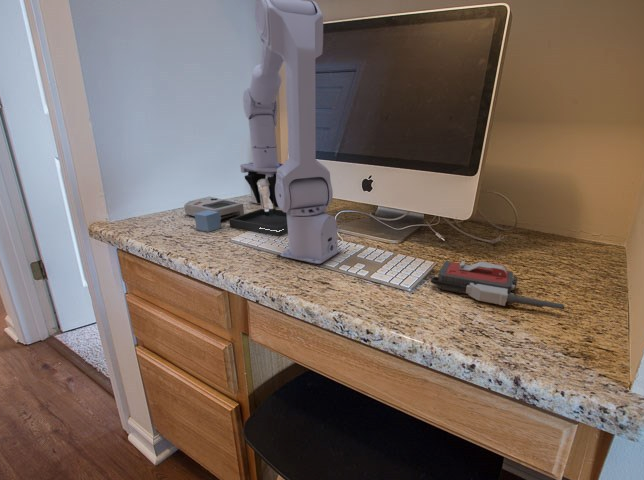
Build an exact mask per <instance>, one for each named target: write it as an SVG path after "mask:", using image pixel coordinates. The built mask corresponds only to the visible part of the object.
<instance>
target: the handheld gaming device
mask: <svg viewBox="0 0 644 480" xmlns="http://www.w3.org/2000/svg"><path fill="white" fill-rule="evenodd" d="M183 207H184V212H185V213H184V214H186V215H189V216H192V217H195V216H194V214H195V213H199V212H202V211H206V210H210V211H216V212H219V216H220V222H221V221H222V220H223V219H226V218H230V217H235V216H234V215H236V216H241V215H244V214H245V212H244V211H245V209H244V204H243V203H242V202H239V201H232V200H228V199H222V198H218V197H214V196H205V197H200V198H197V199H193V200H189V201H188V202H186V203H185V204H184V205H183Z"/></svg>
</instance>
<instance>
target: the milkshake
mask: <svg viewBox="0 0 644 480" xmlns="http://www.w3.org/2000/svg"><path fill="white" fill-rule="evenodd" d="M257 188H258V192H259V197H260V202H261V204H260V207H261V209H262V213H263V216H265V217H272V216H275V215H276V209H277V206H274V203H273V196H272V190H271V187H270V184H269V181H268V179H260V180H258V182H257Z"/></svg>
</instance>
